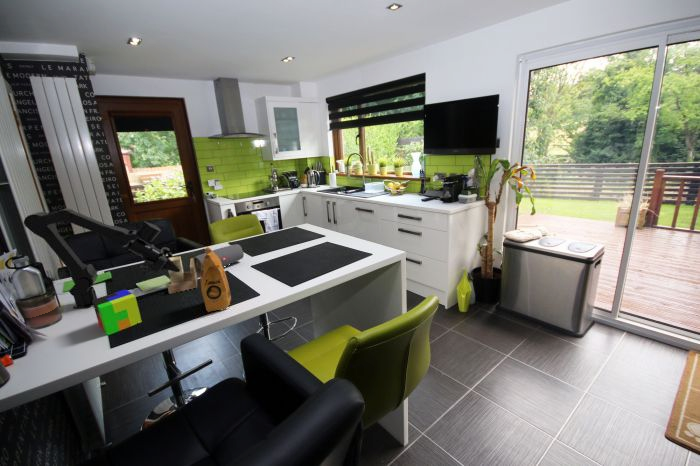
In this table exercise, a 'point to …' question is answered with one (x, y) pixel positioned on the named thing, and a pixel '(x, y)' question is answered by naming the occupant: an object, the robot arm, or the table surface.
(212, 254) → the coffee package
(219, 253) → the bluetooth speaker
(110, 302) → the puzzle toy
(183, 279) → the beech block
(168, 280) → the olive mat
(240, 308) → the table surface
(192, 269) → the light wood angled piece
